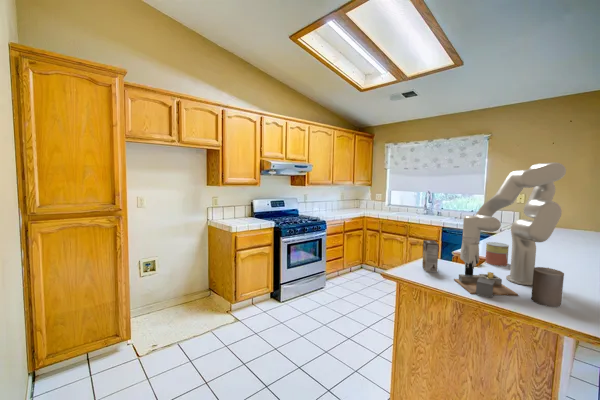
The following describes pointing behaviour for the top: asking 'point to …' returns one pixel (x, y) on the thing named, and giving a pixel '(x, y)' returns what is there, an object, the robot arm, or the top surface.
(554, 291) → the pillar candle
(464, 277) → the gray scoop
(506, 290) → the board
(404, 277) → the top surface
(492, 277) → the pintle
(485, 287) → the block
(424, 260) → the coffee box
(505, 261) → the canned food
